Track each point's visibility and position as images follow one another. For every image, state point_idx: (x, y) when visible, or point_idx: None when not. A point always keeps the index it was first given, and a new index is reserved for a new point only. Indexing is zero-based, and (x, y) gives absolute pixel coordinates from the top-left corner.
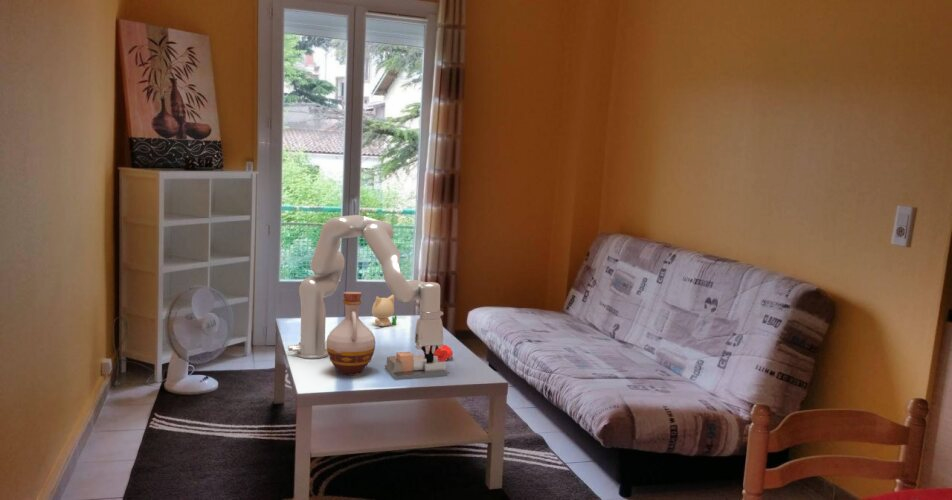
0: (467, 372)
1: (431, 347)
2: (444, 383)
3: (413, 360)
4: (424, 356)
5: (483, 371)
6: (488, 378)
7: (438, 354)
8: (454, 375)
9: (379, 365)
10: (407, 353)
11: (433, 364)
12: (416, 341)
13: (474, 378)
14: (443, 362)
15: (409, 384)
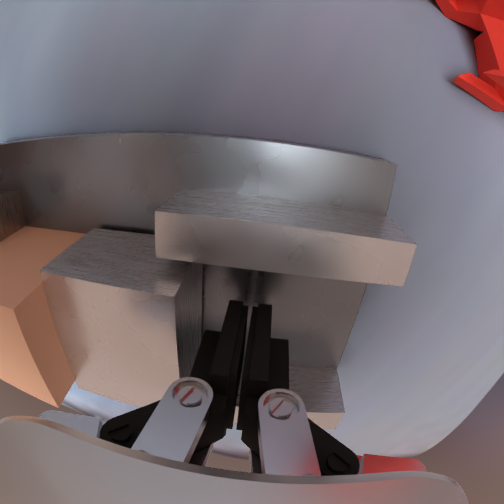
0: (446, 363)
1: (280, 452)
2: (240, 441)
3: (79, 378)
4: (258, 225)
5: (499, 361)
6: (435, 428)
7: (499, 55)
8: (357, 389)
9: (7, 57)
10: (10, 354)
11: (236, 416)
12: (6, 430)
13: (397, 426)
14: (321, 425)
15: (94, 396)
